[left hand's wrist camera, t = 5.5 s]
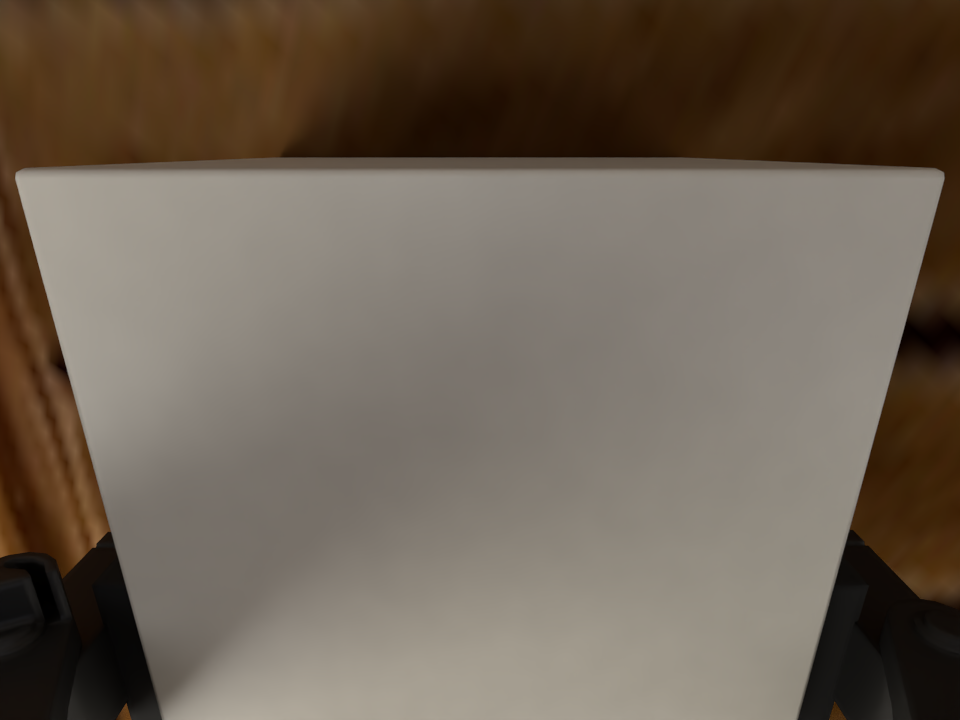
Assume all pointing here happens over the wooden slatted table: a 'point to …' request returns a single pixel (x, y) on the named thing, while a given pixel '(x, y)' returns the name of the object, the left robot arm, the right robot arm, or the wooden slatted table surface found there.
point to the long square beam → (479, 422)
